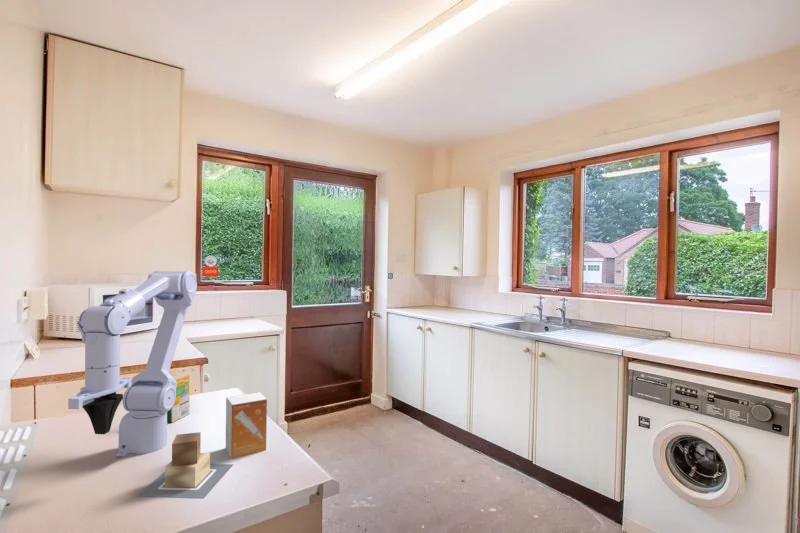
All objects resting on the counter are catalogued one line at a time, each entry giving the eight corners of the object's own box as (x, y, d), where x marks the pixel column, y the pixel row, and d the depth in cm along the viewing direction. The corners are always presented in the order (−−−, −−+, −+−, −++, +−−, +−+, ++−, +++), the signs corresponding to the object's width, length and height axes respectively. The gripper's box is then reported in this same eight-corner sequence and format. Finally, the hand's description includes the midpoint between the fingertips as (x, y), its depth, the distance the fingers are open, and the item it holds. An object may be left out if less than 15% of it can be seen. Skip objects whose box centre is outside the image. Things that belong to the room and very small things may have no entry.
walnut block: (171, 466, 82) (172, 443, 82) (176, 456, 86) (176, 434, 86) (197, 463, 83) (197, 441, 83) (200, 453, 87) (200, 432, 87)
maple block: (165, 486, 82) (165, 466, 82) (181, 471, 88) (181, 452, 88) (195, 487, 82) (195, 467, 82) (209, 472, 88) (210, 453, 88)
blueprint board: (135, 500, 78) (135, 495, 78) (175, 466, 91) (175, 462, 91) (203, 502, 78) (203, 497, 78) (233, 468, 91) (233, 463, 91)
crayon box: (181, 413, 123) (181, 374, 123) (190, 414, 123) (190, 374, 123) (162, 422, 116) (162, 381, 116) (171, 423, 115) (171, 381, 115)
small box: (230, 462, 94) (231, 404, 94) (225, 451, 99) (225, 396, 99) (267, 453, 98) (267, 398, 98) (259, 443, 103) (260, 391, 103)
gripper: (109, 357, 91) (109, 419, 91) (52, 374, 77) (51, 448, 77) (141, 357, 91) (140, 419, 91) (89, 375, 77) (89, 449, 77)
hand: (102, 432), depth 84 cm, fingers closed
